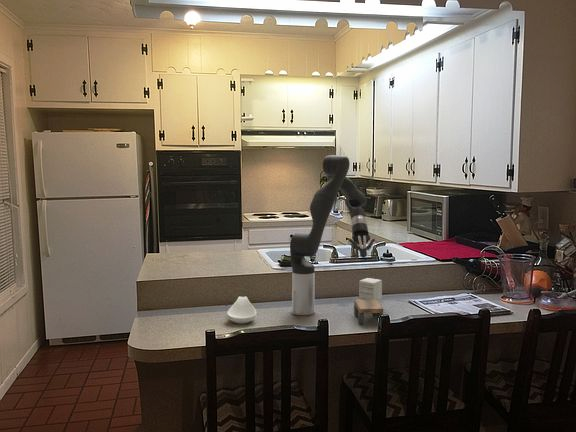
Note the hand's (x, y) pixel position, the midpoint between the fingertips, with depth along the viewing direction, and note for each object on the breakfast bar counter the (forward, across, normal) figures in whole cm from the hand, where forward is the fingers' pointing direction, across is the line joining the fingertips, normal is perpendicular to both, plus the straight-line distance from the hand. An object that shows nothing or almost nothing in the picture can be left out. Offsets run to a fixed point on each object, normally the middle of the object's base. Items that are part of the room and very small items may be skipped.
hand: (363, 256), depth 226 cm
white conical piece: (+32, -54, -3) cm, 63 cm away
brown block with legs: (+36, -4, -8) cm, 37 cm away
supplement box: (+25, 0, +3) cm, 26 cm away
